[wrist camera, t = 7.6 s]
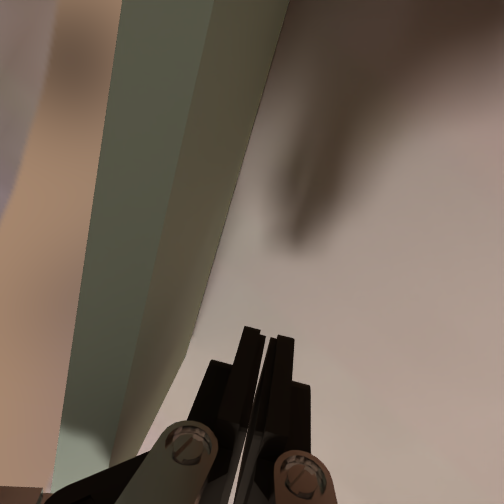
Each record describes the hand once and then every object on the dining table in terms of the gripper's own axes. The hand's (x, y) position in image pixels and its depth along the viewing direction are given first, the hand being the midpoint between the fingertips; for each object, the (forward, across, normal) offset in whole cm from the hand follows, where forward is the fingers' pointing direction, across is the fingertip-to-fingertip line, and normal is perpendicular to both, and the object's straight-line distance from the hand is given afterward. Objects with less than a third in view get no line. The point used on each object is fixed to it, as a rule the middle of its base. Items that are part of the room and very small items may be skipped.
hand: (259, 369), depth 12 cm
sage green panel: (+4, +3, -8) cm, 10 cm away
